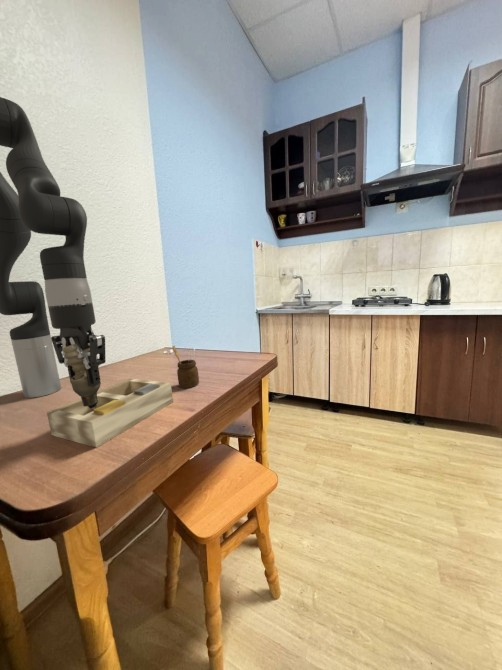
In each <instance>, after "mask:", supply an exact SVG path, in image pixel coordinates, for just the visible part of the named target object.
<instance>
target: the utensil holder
mask: <svg viewBox="0 0 502 670" xmlns="http://www.w3.org/2000/svg"><path fill="white" fill-rule="evenodd" d="M172 348H173V352H174V355H175V357H176V358H177V360H178V362H177V371H176V372H177V373H176V374H177V383H178V387H180V388H182V389H188V388H194V387H196V386H198V385H199V383H200V378H199V377H200V376H199V371H198V370H199V369H198V367H197V366H196V365H197V362H196V359H195V358H196V349H195V348H193V347H191V348H189V349H188V350H187V359H184V360H180V358H179V352H178V350H177V348H176V346H175V345H173V346H172ZM190 350H191V351H190ZM189 354H194V356H192V355H189Z"/></svg>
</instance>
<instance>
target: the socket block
mask: <svg viewBox="0 0 502 670" xmlns="http://www.w3.org/2000/svg"><path fill="white" fill-rule="evenodd" d="M173 397H174V396H173V391H172V383H171V382H165V381H153V380H148V379H147V380H146V379H136V378H129V379H126V380H124V381H121V382H119V383H116V384H114V385H111V386H109V387H107V388H104V389H102V390H98V391H97V398H98V399H97V400H98V403H97V404H96V406H95V407H94V408H89V407H88V406H83V402H82V399H81V398H80V399H79V398H78V399H77V400H75V401H73V402H69V403H67V404H64V405H62V406H59V407H57V408H55V409H52V410H50V411H47V412H46V416H47V420H48V425H49V429H50V434H51V436H53V437H57V438H61V439H64V440H68V441H70V442H71V441H72V442H75V443H79V444H82V445H85V446H90V447H93V448H99V447H101V446H102V445H103V444H105V443H107V442H109V441H110V440H112V439H114V438H115V437H117V436H119V435H120V434H122V433H123V432H125V431H127V430H129V429H130V428H132V427H134V426H135V425H137V424H139V423H140V422H142V421H144V420H145V419H147V418H149V417H150V416H152V415H154V414H155V413H157V412H159V411H161V410H162V409H164V408H166V407H167V406H169V405H170V404H172V403H174V399H173Z"/></svg>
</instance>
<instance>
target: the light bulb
mask: <svg viewBox="0 0 502 670" xmlns="http://www.w3.org/2000/svg"><path fill="white" fill-rule="evenodd" d="M76 349H77V346H76V345H70V346H67V347H64V348H63V352H65V355H64V356H63V357H65V358H66V359H67V365H69V366H72V369H73V371H74V372H75V375H74V376H73V377H72V378H71V383H70V384H71V388H72V391H73V392H74V393H75V394H77V395H78V396H79V397H80V399H82V402H83V406H88V407H89V408H94V407H95V406H96V404H97V403H98V400H97V399H98V398H97V392H99V389H100V388H101V384H102V383H101V381H100V384H98V385H95V386H93V387H92V386H89V385H88V381H87V375H86V370H85V369H86V367H85V365H84V363H83V360H82V359H79V358H78V352H77V351H76ZM82 351H83V352H84V353H88V352H90V348H88V349H85V350H82ZM88 359H89V362H90V356H89V357H88Z"/></svg>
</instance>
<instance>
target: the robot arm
mask: <svg viewBox="0 0 502 670" xmlns="http://www.w3.org/2000/svg"><path fill="white" fill-rule="evenodd" d="M0 146H1V147H5V148H8V149H9V148H10V149H11V150H9V152H8V154H7V156H6V158H5V159H6V160H5V167H6V172H7V173H8V176H9V178H10V180H11V182H12V183H13V186H14V188H15V189H16V190H15V189H14V188H13V186H12V185H10V183H9V182H8V181H7V179H6V178H5V177H4V176H3V173H2V172H1V171H0V314H1V315H2V316H17V315H28V314H31V316H32V317H31V318H30V319H29V320H27V321H26V322H24V323H22V324H20V325H18V326H14V327H13V328H11V329H10V330H9V336H10V341H11V345H12V350H13V354H14V358H15V362H16V363H15V364H16V367H17V371H18V376H19V381H20V384H21V389H22V394H23V397H24V398H28V399H29V398H38V397H44V396H47V395H50V394H51V395H52V394H54V393H56V392H58V391H59V390H61V388H62V385H61V381H60V375H59V370H58V365H57V361H58V363H59V364H61V365H62V364H64V367H66V368H67V371H68V372H67V373H68V378H69V383H70V384H71V378H72V377H73V376H74V375H75V372H74V371H73V369H72V366H69V365H67V359H66V358H65V357H64V355H65V352H63V348H64V347H67V346H70V345H76V346H77V349H76V351H77V352H78V358H79V359H82V360H83V363H84V365H85V367H86V369H85V370H86V375H87V381H88V385H89V386H92V387H93V386H95V385H98V384H100V382H101V375H100V370H99V366H101V365H102V364H105V363H106V337H105V335H103V334H100V335H96V334H94V331H93V329H92V326H93V325H94V324H96V317H95V310H94V304H93V297H92V292H91V288H90V286H89V281H88V277H87V271H86V265H85V260H84V257H85V256H84V253H85V252H84V250H85V249H84V248H85V238H86V233H87V232H86V231H87V227H88V217H87V212H86V210H85V208H84V207H83V205H82V204H81V203H80V202H79V201H78V200H77V199H75V198H72V197H71V198H70V197H67V196H61V189H60V187H59V184H58V182H57V181H56V179H55V178H54V175H53V174H52V172H51V170H50V169H49V168H48V166H47V164H46V162H45V161H44V158H43V155H42V152H41V150H40V147H39V144H38V141H37V138H36V135H35V132H34V130H33V127H32V124H31V122H30V119H29V117H28V115H27V113H26V112H25V110H24V109H23V108H22V106H20V105H19V104H18V103H16V102H15V101H13V100H11V99H8V98H4V97H1V96H0ZM32 232H33V233H35V234H42V235H50V236H51V235H53V236H62V237H63V236H64V237H65V241H64V243H63V245H59V246H51V247H45V248H43V249H42V250H41V251H40V252H39V259H40V260H39V261H40V265H41V270H42V275H43V280H44V290H43V287H42V286H41V284H40V283H39V282H37V281H33V280H32V281H30V280H29V281H28V280H27V281H26V280H25V281H10V275H11V271H12V270H13V267H14V265H15V263H16V261H17V260H18V258H20V256H21V255H22V253H23V252H24V250H25V249H26V248H27V246H28V244H29V243H30V241H31V238H32ZM44 292H45V293H44ZM45 298H46V299H45ZM46 303H47V305H46ZM46 306H47V307H46ZM46 308H48V312H49V319H50V323H51V327H52V328H53V329H56V330H59V335H54V336H53V335H52V336H51V331H50V326H49V319H48V314H47V309H46ZM88 348H90V352H88V353H84V352H83V351H82V350H85V349H88ZM55 354H56V355H55ZM89 356H90V362H89V359H88V357H89ZM56 358H57V360H56Z"/></svg>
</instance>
